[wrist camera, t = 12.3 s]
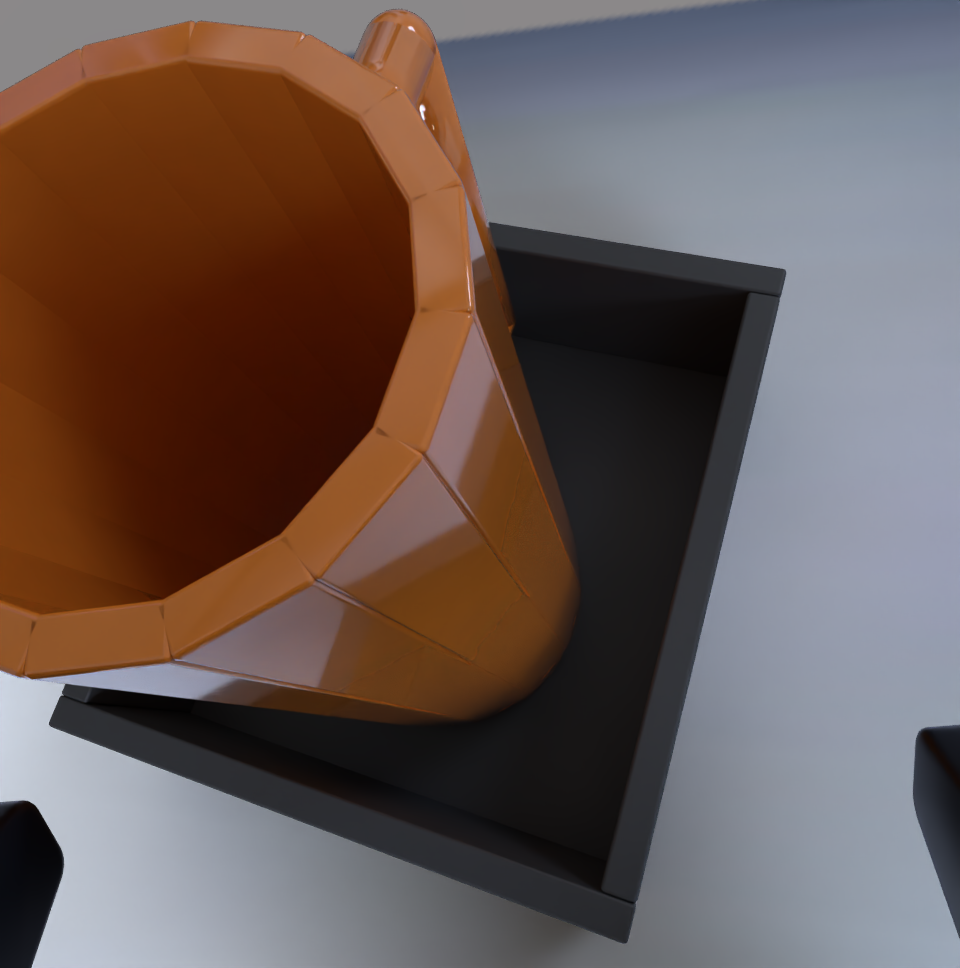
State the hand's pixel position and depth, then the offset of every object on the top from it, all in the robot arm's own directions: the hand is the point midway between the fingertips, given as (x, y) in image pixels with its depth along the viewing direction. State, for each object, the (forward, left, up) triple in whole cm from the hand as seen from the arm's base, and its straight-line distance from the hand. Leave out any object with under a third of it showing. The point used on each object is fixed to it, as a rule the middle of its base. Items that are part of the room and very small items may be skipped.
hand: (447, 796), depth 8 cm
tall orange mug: (+5, +3, -10) cm, 12 cm away
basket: (+4, +3, -11) cm, 12 cm away
